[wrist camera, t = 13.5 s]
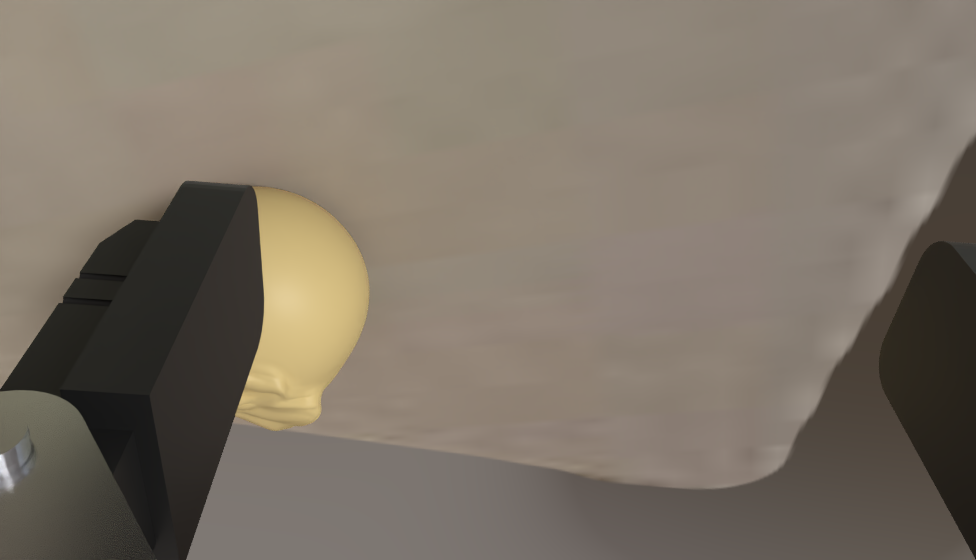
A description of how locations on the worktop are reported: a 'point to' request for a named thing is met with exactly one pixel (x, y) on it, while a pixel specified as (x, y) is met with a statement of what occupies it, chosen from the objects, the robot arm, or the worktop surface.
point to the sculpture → (302, 310)
